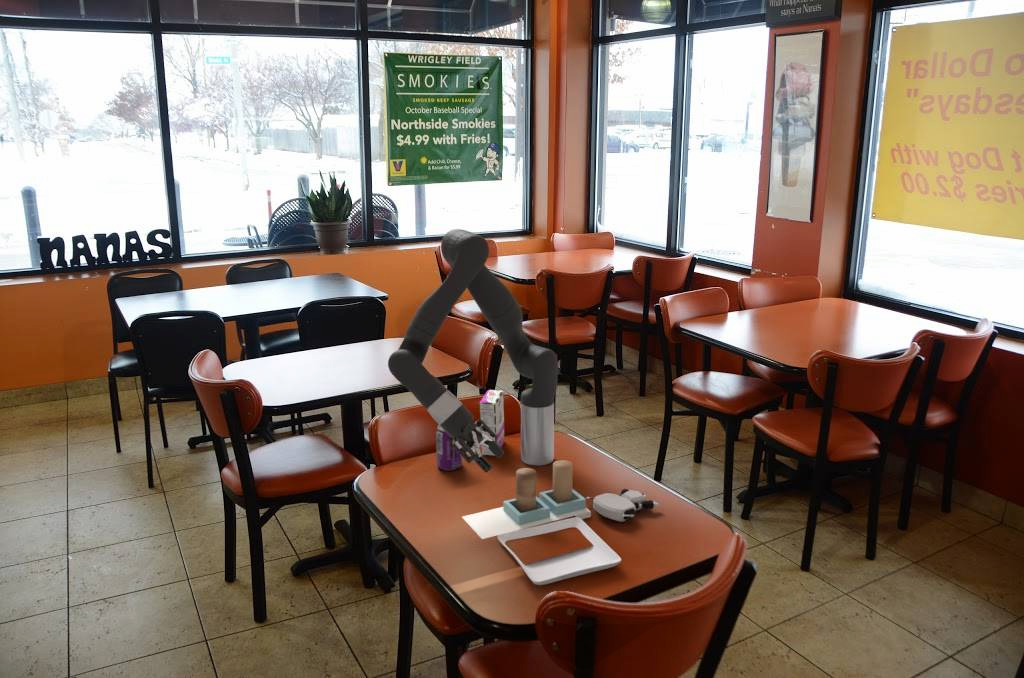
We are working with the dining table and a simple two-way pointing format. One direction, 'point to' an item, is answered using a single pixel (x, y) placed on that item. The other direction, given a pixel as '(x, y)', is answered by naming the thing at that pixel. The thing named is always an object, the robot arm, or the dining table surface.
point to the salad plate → (568, 562)
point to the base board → (548, 507)
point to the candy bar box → (493, 417)
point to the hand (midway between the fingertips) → (495, 462)
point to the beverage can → (447, 451)
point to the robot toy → (621, 504)
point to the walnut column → (525, 490)
